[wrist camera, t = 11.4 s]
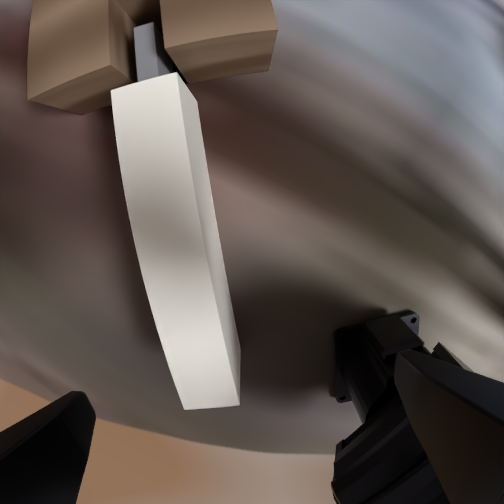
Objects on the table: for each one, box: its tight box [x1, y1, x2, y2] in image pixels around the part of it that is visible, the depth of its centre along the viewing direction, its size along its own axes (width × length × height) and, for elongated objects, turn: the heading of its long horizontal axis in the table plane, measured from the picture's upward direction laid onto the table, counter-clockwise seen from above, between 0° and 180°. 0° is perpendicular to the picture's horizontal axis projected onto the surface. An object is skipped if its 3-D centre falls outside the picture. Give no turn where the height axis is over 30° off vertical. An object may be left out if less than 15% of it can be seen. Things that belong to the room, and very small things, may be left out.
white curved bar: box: [111, 22, 241, 410], centre depth 16 cm, size 20×3×6 cm, turn 9°
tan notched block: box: [27, 0, 278, 115], centre depth 13 cm, size 10×12×6 cm
